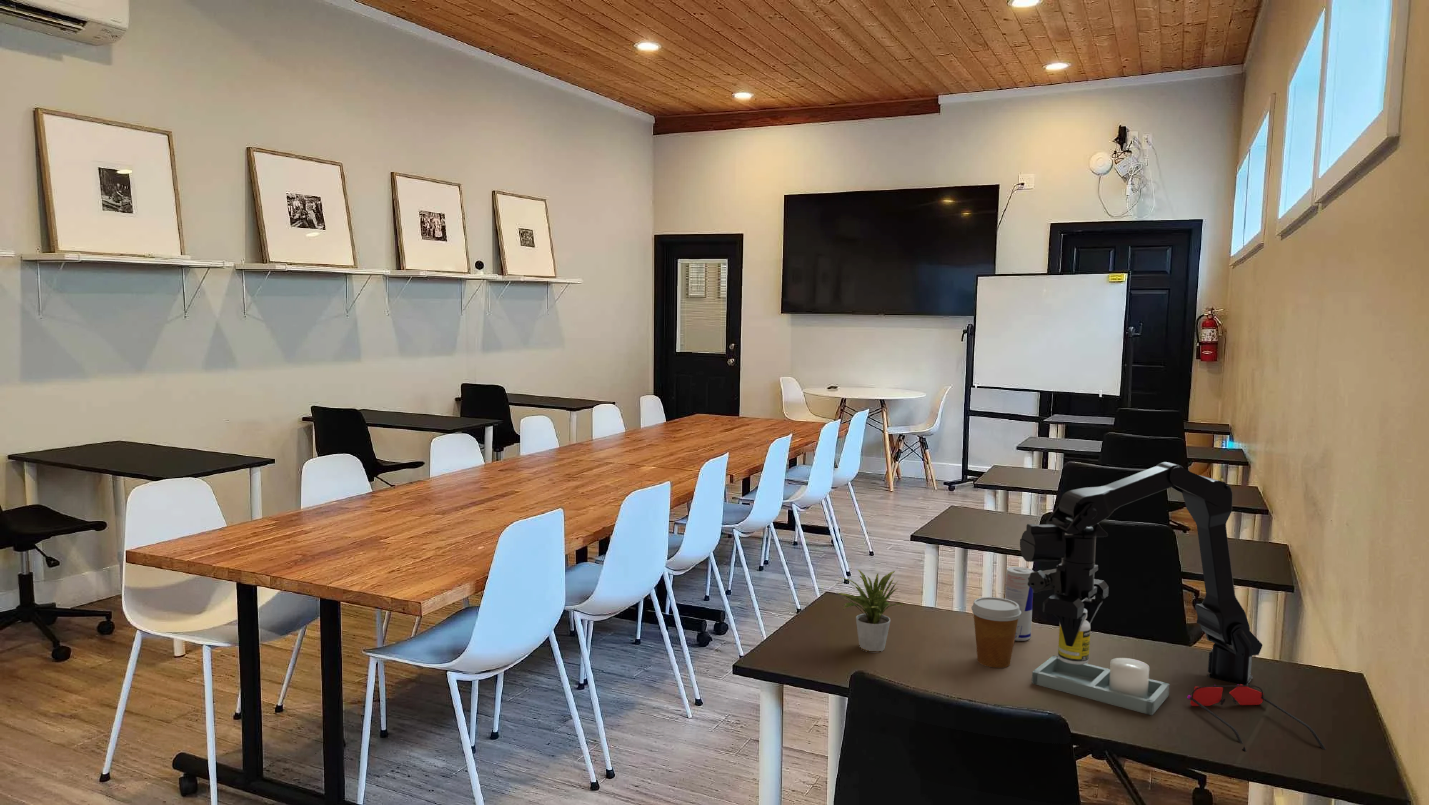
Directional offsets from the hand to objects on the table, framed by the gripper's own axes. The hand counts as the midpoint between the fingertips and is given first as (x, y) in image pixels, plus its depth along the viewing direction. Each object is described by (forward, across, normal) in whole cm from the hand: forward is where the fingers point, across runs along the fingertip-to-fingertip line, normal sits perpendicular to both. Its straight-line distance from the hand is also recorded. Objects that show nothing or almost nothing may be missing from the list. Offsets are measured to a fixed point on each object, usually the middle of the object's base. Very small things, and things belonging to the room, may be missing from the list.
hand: (1074, 641), depth 174 cm
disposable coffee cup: (+9, -2, -16) cm, 18 cm away
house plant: (+9, +6, -39) cm, 40 cm away
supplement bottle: (+4, 0, 0) cm, 4 cm away
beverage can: (+9, -19, -18) cm, 28 cm away
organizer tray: (+9, 0, +5) cm, 10 cm away
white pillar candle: (+8, 0, +10) cm, 13 cm away
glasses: (+9, -2, +29) cm, 31 cm away
